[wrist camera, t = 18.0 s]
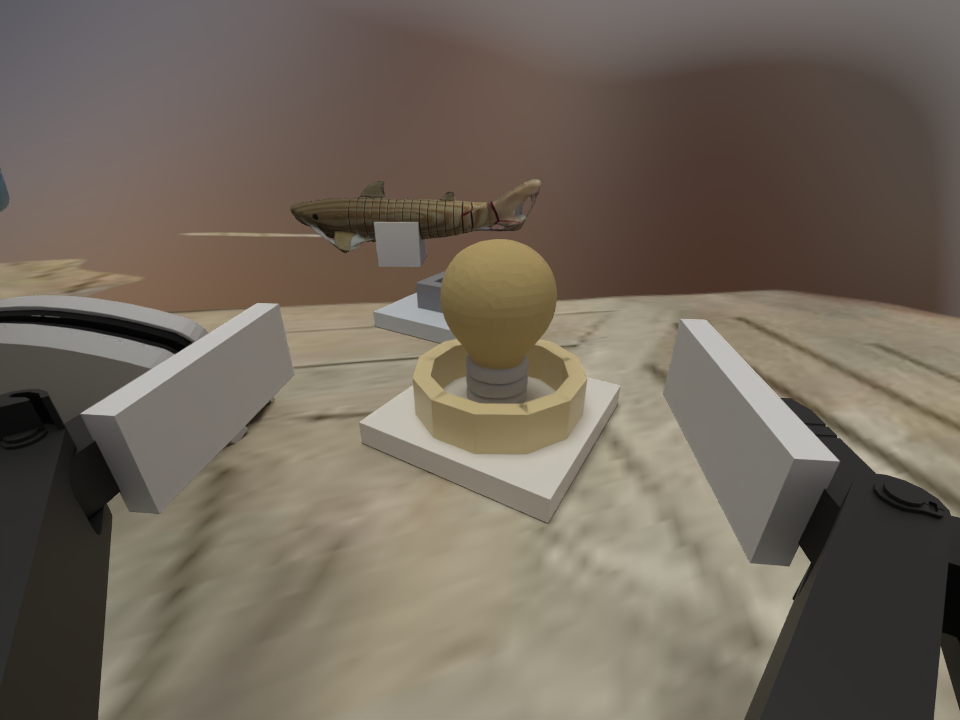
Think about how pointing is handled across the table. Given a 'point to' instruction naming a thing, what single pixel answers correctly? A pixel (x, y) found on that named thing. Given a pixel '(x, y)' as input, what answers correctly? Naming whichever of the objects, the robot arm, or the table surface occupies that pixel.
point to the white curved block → (85, 347)
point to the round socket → (497, 427)
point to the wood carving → (409, 220)
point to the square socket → (418, 313)
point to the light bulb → (498, 315)
